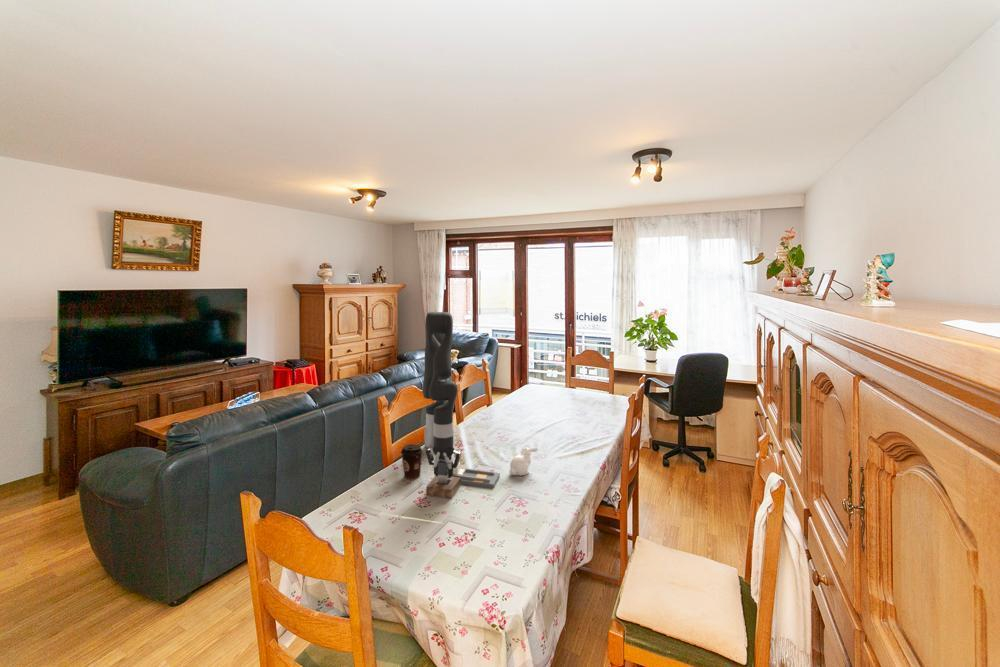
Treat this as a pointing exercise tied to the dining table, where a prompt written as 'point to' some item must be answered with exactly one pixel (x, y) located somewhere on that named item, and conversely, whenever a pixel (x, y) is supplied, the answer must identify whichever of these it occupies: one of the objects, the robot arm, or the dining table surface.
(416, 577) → the dining table surface
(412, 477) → the coffee cup
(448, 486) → the brown wooden socket block
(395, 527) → the dining table surface
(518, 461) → the rabbit
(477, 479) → the switch panel
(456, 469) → the switch slider
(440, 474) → the pin tool
